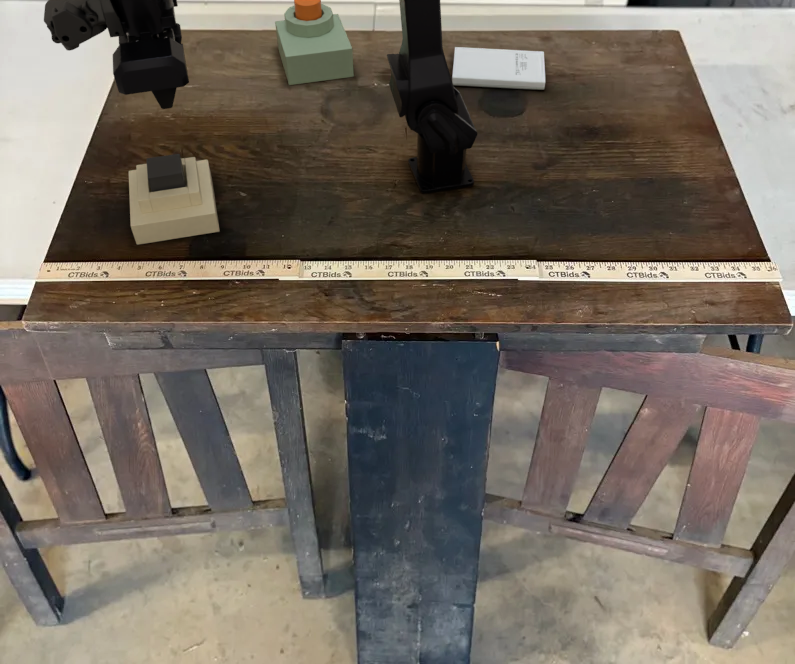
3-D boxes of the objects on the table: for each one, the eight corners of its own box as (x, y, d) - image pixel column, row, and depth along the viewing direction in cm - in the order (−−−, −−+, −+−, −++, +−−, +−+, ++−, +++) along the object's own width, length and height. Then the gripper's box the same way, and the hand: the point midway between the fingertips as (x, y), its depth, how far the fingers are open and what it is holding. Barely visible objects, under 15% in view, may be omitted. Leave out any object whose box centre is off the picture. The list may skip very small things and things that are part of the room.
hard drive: (454, 56, 113) (542, 60, 112) (451, 87, 108) (544, 91, 107) (455, 45, 112) (544, 49, 111) (452, 76, 107) (545, 80, 106)
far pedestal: (353, 76, 110) (351, 35, 105) (288, 85, 108) (284, 44, 104) (338, 39, 117) (336, -2, 112) (277, 46, 115) (272, 6, 111)
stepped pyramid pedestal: (219, 231, 88) (212, 199, 85) (136, 245, 87) (126, 213, 83) (211, 177, 95) (204, 145, 91) (134, 189, 93) (124, 157, 90)
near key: (185, 188, 87) (181, 172, 85) (151, 193, 86) (147, 177, 85) (183, 168, 89) (179, 153, 88) (150, 173, 88) (146, 158, 87)
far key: (324, 20, 109) (322, 3, 107) (297, 23, 108) (296, 6, 106) (319, 8, 111) (318, -9, 109) (293, 11, 110) (292, -6, 109)
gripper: (37, -79, 75) (86, 71, 87) (26, 12, 63) (85, 172, 75) (157, -92, 77) (190, 57, 89) (169, -5, 65) (205, 154, 77)
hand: (167, 106), depth 82 cm, fingers closed
